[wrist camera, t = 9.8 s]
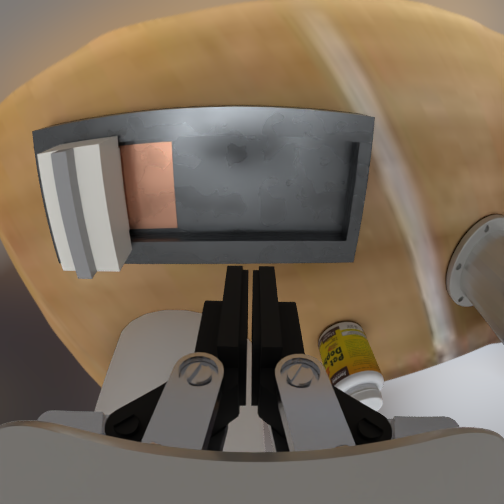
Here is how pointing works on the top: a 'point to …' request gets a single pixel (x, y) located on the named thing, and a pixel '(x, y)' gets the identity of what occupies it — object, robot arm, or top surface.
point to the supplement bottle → (352, 363)
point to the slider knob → (87, 205)
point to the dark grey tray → (235, 181)
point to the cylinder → (169, 370)
